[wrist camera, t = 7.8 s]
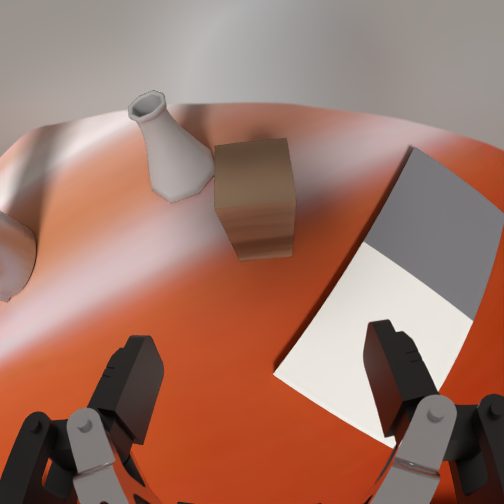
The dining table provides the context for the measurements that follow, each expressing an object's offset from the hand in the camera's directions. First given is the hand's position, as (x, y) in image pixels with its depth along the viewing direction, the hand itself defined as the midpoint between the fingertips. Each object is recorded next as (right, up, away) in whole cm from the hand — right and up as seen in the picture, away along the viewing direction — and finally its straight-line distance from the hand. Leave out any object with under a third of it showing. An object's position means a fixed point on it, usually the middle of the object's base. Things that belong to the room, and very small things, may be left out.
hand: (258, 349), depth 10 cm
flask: (-7, +12, +19) cm, 23 cm away
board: (+14, +1, +13) cm, 19 cm away
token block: (+1, +5, +16) cm, 16 cm away
